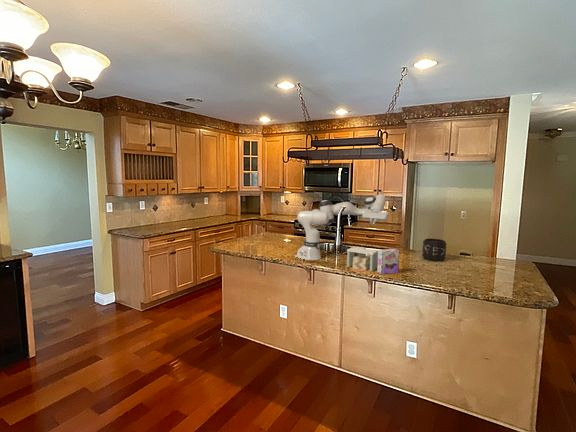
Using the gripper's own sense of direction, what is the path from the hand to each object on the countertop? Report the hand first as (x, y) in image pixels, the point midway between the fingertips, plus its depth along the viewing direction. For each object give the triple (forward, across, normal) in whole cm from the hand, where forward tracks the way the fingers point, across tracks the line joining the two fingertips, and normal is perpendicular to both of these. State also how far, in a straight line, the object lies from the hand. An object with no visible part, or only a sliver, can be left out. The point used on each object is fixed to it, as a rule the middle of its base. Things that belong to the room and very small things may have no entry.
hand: (372, 223), depth 272 cm
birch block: (+40, -4, -2) cm, 40 cm away
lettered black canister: (-1, -41, -43) cm, 60 cm away
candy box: (+40, -24, -2) cm, 47 cm away
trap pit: (+45, -4, +3) cm, 45 cm away
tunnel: (+39, -4, -2) cm, 40 cm away
